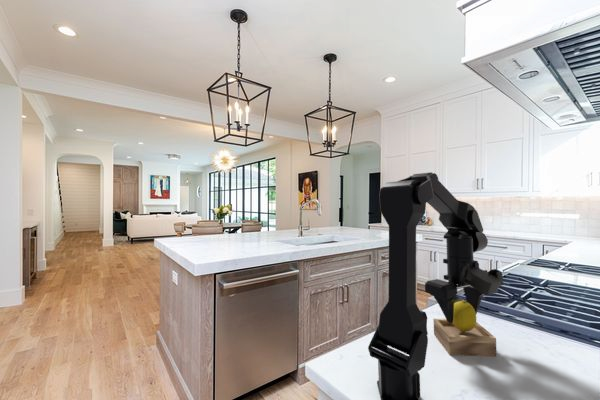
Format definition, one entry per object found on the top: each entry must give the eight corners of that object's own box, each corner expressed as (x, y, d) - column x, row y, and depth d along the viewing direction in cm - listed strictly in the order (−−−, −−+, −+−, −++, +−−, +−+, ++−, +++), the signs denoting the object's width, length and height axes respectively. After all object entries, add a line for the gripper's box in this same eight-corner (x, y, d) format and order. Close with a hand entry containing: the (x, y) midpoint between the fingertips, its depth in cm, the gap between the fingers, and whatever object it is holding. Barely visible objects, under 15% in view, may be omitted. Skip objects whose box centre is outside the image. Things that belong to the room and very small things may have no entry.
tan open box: (449, 354, 65) (449, 336, 65) (434, 334, 75) (433, 318, 75) (496, 356, 63) (495, 338, 63) (474, 335, 73) (473, 319, 73)
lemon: (479, 339, 66) (481, 306, 65) (454, 336, 67) (455, 304, 66) (470, 328, 71) (471, 297, 71) (446, 325, 72) (447, 295, 72)
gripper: (465, 266, 58) (468, 341, 58) (518, 257, 66) (520, 324, 66) (422, 257, 68) (424, 321, 68) (472, 250, 76) (474, 308, 76)
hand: (461, 319), depth 69 cm, fingers open, 8 cm apart
